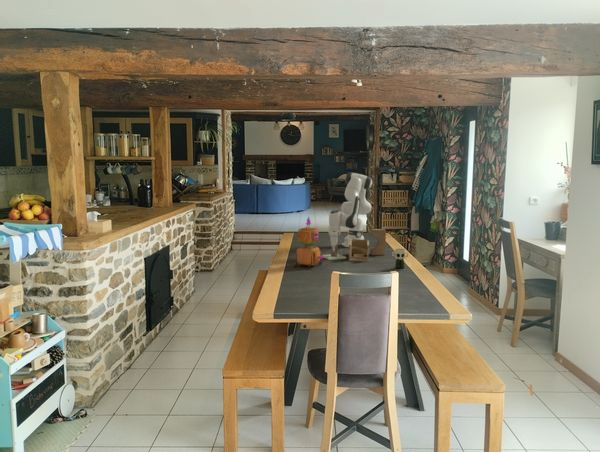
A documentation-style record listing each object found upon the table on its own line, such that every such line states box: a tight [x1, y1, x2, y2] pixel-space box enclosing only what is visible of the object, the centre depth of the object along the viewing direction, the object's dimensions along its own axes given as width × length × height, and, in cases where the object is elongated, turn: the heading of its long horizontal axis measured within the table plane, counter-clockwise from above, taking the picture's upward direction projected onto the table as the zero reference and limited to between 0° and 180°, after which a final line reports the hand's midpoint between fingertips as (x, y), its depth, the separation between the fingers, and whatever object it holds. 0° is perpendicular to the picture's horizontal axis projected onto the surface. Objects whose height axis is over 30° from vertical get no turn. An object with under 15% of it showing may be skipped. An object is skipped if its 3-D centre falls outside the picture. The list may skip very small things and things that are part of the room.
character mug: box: [391, 248, 409, 269], centre depth 341 cm, size 11×7×13 cm, turn 84°
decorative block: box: [369, 228, 387, 256], centre depth 389 cm, size 11×6×20 cm, turn 89°
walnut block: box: [330, 243, 339, 257], centre depth 376 cm, size 4×4×9 cm
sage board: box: [321, 253, 347, 261], centre depth 377 cm, size 14×14×1 cm
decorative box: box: [293, 216, 324, 270], centre depth 343 cm, size 19×21×35 cm
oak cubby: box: [348, 239, 370, 262], centre depth 377 cm, size 26×14×12 cm, turn 172°
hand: (334, 250), depth 376 cm, fingers open, 8 cm apart
